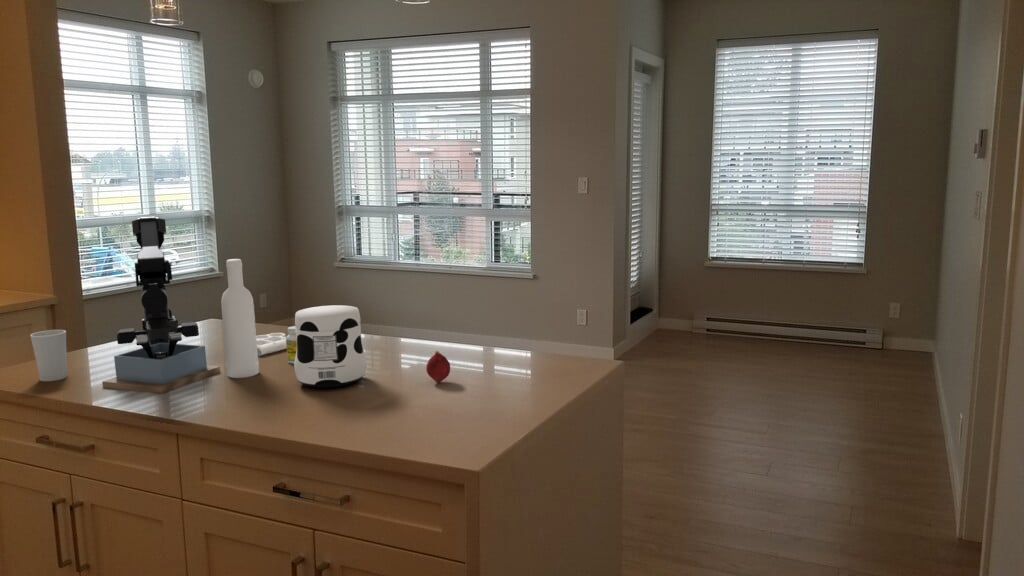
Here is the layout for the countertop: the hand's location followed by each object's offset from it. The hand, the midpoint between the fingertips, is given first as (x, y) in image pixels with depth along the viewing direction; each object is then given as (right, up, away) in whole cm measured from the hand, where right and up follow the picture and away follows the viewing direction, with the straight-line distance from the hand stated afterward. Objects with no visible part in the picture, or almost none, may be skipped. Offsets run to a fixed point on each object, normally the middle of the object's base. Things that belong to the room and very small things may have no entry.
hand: (161, 365), depth 201 cm
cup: (-30, -4, +5) cm, 31 cm away
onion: (+72, -3, -9) cm, 72 cm away
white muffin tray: (+16, +1, +31) cm, 35 cm away
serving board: (0, -4, +1) cm, 4 cm away
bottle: (+20, -3, +4) cm, 20 cm away
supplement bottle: (+31, -1, +15) cm, 34 cm away
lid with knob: (0, -2, 0) cm, 2 cm away
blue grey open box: (-1, -2, +1) cm, 2 cm away
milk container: (+45, -4, -6) cm, 45 cm away
